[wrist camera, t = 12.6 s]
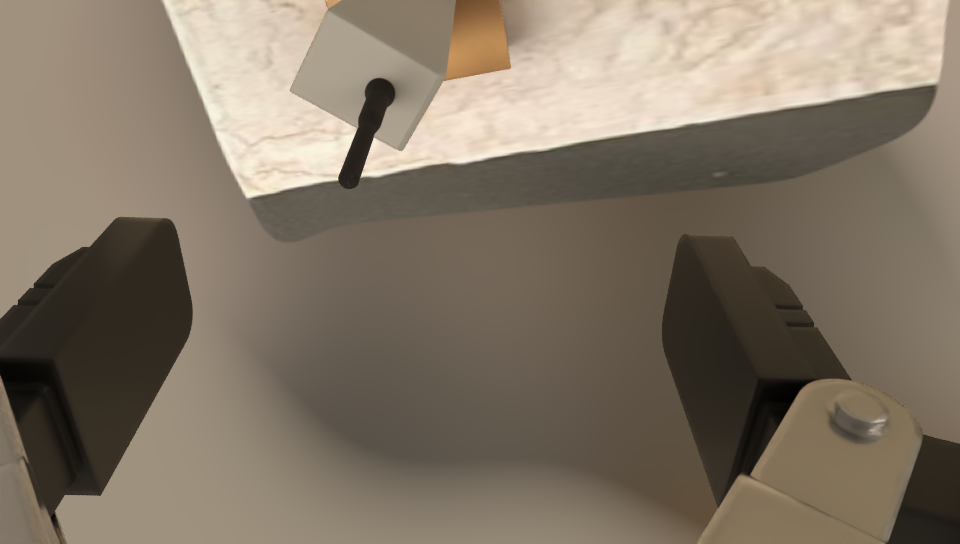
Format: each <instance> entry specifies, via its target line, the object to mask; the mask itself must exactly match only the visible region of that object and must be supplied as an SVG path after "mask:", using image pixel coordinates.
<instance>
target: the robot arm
mask: <svg viewBox="0 0 960 544" xmlns="http://www.w3.org/2000/svg"><path fill="white" fill-rule="evenodd" d="M192 313H193V311H192V300H191V295H190V291H189V286H188V281H187V276H186V272H185V267H184V262H183V257H182V253H181V248H180V243H179V238H178V234H177V230H176V228H175V226H174V224H173V222H172V221H171V220H170V219H166V218H134V217H132V218H131V217H118V218H116V219H115V220H114V221H113V222H112V223H111V224H110V225H109V226H108V227H107V229H106V230H105V231H104V232H103V233H102V234H101V235H100V236H99V237H98V239H97V240H96V241H95V242H94V243H93V244H92V245H91V246H90V247H82V248H80V249H79V250H77V251H75V252H73V253H71V254H70V255H68V256H66V257H65V258H62V259H61V260H59V261H57V262H55V263H54V264H52V265H51V266H50V268H48V270H47V271H46V272H45V273H44V274H43V275H42V276H41V277H40V278H39V279H38V280H37V281H36V282H35V283H34V288H30V289H29V290H28V291H27V292H26V293H25V294H24V295H23V296H22V297H21V298H20V299H19V300H18V305H14V306H13V307H11V309H10V310H9V311H8V312H7V313H6V314H5V315H4V316H3V317H2V318H1V319H0V544H67V542H66V540H65V537H64V533H63V530H62V528H61V525H60V522H59V520H58V517H57V515H56V512H55V510H56V508H57V507H58V505H59V504H60V502H61V500H62V499H63V497H64V495H97V496H100V495H101V494H102V492H103V490H104V488H105V487H106V485H107V483H108V481H109V479H110V478H111V476H112V474H113V472H114V471H115V469H116V467H117V465H118V464H119V462H120V460H121V458H122V456H123V455H124V453H125V451H126V449H127V447H128V446H129V444H130V442H131V440H132V438H133V437H134V435H135V433H136V431H137V429H138V428H139V426H140V424H141V422H142V420H143V419H144V417H145V415H146V413H147V411H148V409H149V408H150V406H151V404H152V402H153V401H154V399H155V397H156V395H157V393H158V392H159V390H160V388H161V386H162V384H163V383H164V381H165V379H166V377H167V376H168V374H169V372H170V370H171V368H172V366H173V365H174V363H175V361H176V359H177V357H178V356H179V354H180V352H181V350H182V349H183V347H184V345H185V343H186V341H187V339H188V337H189V334H190V330H191V325H192V315H193V314H192ZM662 340H663V347H664V352H665V356H666V358H667V361H668V364H669V367H670V370H671V373H672V376H673V379H674V382H675V385H676V388H677V390H678V393H679V396H680V399H681V402H682V405H683V408H684V411H685V414H686V417H687V420H688V422H689V425H690V428H691V431H692V434H693V437H694V440H695V443H696V445H697V449H698V451H699V454H700V457H701V460H702V463H703V466H704V469H705V472H706V474H707V478H708V480H709V483H710V486H711V489H712V492H713V495H714V498H715V501H716V504H717V507H718V510H717V511H716V513H715V515H714V516H713V518H712V520H711V521H710V523H709V524H708V526H707V528H706V529H705V531H704V533H703V534H702V536H701V538H700V539H699V541H698V542H697V544H960V444H958V443H953V442H950V441H946V440H941V439H937V438H934V437H930V436H927V435H923V434H922V429H921V427H920V425H919V423H918V421H917V420H916V418H915V417H914V415H913V414H912V413H911V412H910V411H909V410H908V409H907V408H906V407H905V406H904V405H902V404H901V403H900V402H899V401H897V400H896V399H894V398H893V397H891V396H890V395H888V394H886V393H884V392H882V391H880V390H878V389H876V388H873V387H871V386H868V385H865V384H862V383H858V382H855V381H852V380H851V378H850V377H849V375H848V374H847V372H846V371H845V369H844V368H843V366H842V365H841V363H840V362H839V360H838V359H837V357H836V356H835V354H834V353H833V351H832V349H831V348H830V346H829V345H828V343H827V342H826V340H825V339H824V337H823V336H822V334H821V333H820V331H819V330H818V328H815V327H814V322H813V321H812V319H811V318H810V316H809V315H808V313H807V311H806V310H803V305H802V304H801V302H800V301H799V299H798V298H797V296H796V295H795V293H794V292H793V290H792V289H791V287H790V286H789V285H788V284H787V283H785V282H784V281H783V280H781V279H780V278H778V277H777V276H776V275H775V274H773V273H772V272H770V271H769V270H768V269H766V268H765V267H752V266H751V265H750V264H749V262H748V260H747V259H746V257H745V256H744V254H743V252H742V250H741V249H740V247H739V245H738V244H737V242H736V240H735V239H734V238H733V237H732V236H730V235H699V234H698V235H697V234H684V235H682V237H681V238H680V240H679V242H678V245H677V250H676V254H675V259H674V264H673V270H672V275H671V279H670V284H669V289H668V294H667V299H666V304H665V309H664V314H663V322H662Z"/></svg>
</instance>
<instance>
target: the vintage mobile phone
mask: <svg viewBox="0 0 960 544" xmlns="http://www.w3.org/2000/svg"><path fill="white" fill-rule="evenodd" d="M455 5H456V0H341V1H340V2H338V3H337V4H335V5H334V6H332V7H331V8H330V9H329V10H328V11H327V12H326V14H325V16H324V19H323V21H322V23H321V25H320V27H319V29H318V31H317V33H316V35H315V38H314V40H313V42H312V44H311V46H310V48H309V50H308V52H307V54H306V57H305V59H304V61H303V63H302V65H301V67H300V69H299V71H298V73H297V76H296V78H295V80H294V82H293V84H292V86H291V88H290V91H291V92H292V93H294V94H295V95H297V96H299V97H301V98H303V99H305V100H306V101H308V102H310V103H312V104H314V105H316V106H318V107H319V108H321V109H323V110H325V111H327V112H329V113H330V114H332V115H334V116H336V117H338V118H340V119H341V120H343V121H345V122H347V123H349V124H351V125H352V126H354V127H356V128H358V129H357V131H356V134H355V137H354V139H353V142H352V144H351V147H350V149H349V152H348V154H347V157H346V159H345V162H344V164H343V167H342V169H341V172H340V174H339V177H338V179H339V183H340V184H341V186H343V187H344V188H347V189H352V188H355V187H356V186H357V185H358V183H359V180H360V177H361V174H362V171H363V168H364V165H365V162H366V159H367V156H368V153H369V150H370V147H371V144H372V141H373V138H376V139H378V140H380V141H382V142H384V143H385V144H387V145H389V146H391V147H393V148H395V149H397V150H400V151H402V150H403V149H404V148H405V146H406V144H407V143H408V141H409V139H410V137H411V136H412V134H413V132H414V131H415V129H416V127H417V125H418V124H419V122H420V120H421V119H422V117H423V115H424V113H425V112H426V110H427V108H428V106H429V105H430V103H431V101H432V100H433V98H434V96H435V94H436V93H437V91H438V89H439V88H440V86H441V84H442V82H443V81H444V79H445V77H446V74H447V67H448V59H449V51H450V43H451V36H452V28H453V20H454V12H455Z"/></svg>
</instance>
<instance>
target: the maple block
mask: <svg viewBox="0 0 960 544" xmlns="http://www.w3.org/2000/svg"><path fill="white" fill-rule="evenodd" d="M325 1H326V5H327V8H328V10H329V9H330V8H331V7H332V6H334V5H335V4H337V3H338V2H340V1H341V0H325ZM510 68H511V65H510V57H509V50H508V43H507V37H506V31H505V25H504V18H503V12H502V6H501V0H456V5H455V12H454V20H453V28H452V36H451V43H450V51H449V59H448V67H447V74H446V77H445V79H444V81H446V80H451V79H457V78H462V77H467V76H473V75H478V74H484V73H489V72H495V71H500V70H505V69H510Z"/></svg>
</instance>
